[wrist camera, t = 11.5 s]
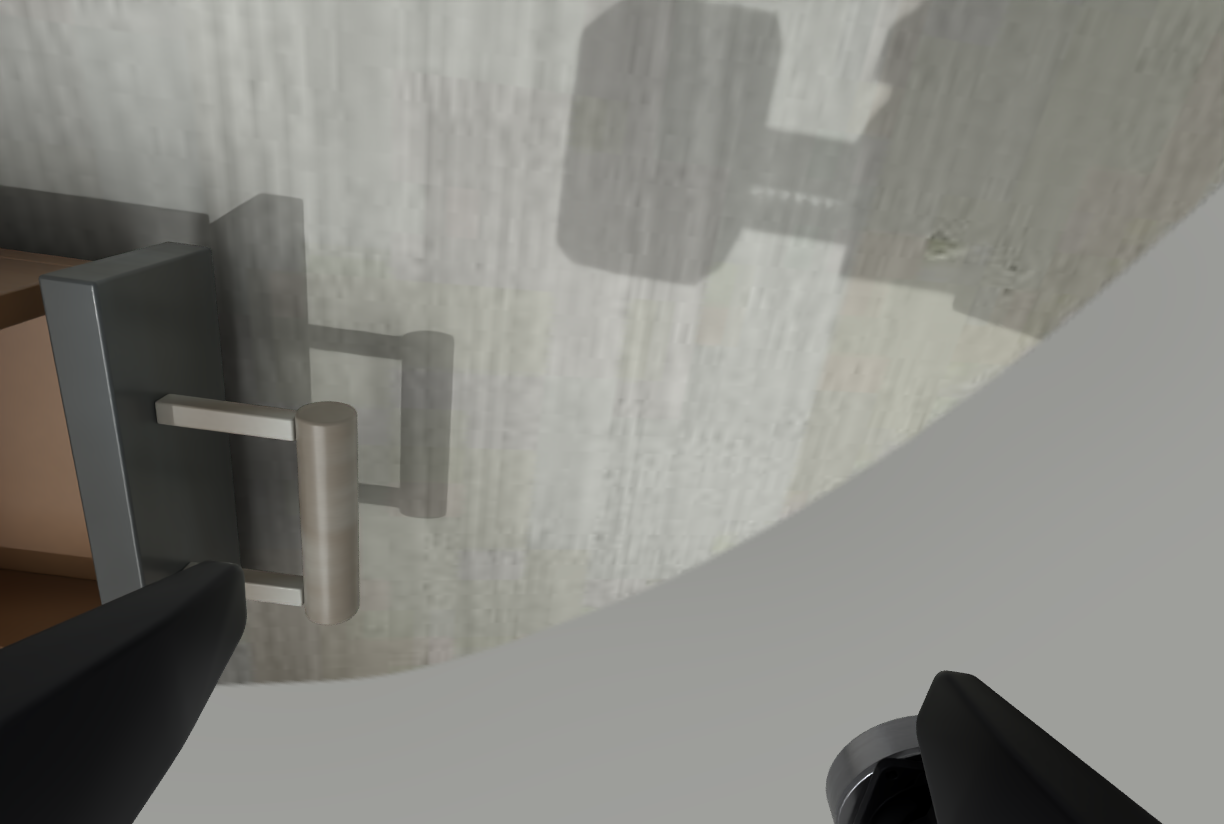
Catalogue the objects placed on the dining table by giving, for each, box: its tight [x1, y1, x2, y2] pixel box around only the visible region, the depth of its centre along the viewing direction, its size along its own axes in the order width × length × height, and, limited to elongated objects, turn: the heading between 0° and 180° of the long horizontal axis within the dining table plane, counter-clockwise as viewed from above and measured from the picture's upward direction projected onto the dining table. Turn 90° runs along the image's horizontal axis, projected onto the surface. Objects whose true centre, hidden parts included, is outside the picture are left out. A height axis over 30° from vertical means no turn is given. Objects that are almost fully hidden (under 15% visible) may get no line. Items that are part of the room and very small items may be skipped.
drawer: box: [0, 242, 360, 649], centre depth 18 cm, size 17×12×4 cm
